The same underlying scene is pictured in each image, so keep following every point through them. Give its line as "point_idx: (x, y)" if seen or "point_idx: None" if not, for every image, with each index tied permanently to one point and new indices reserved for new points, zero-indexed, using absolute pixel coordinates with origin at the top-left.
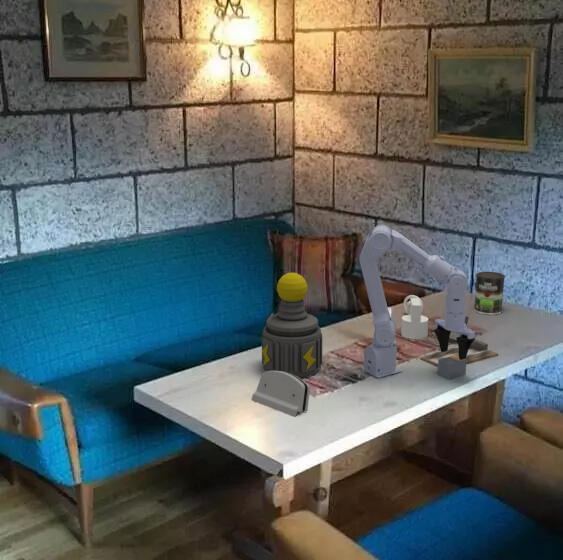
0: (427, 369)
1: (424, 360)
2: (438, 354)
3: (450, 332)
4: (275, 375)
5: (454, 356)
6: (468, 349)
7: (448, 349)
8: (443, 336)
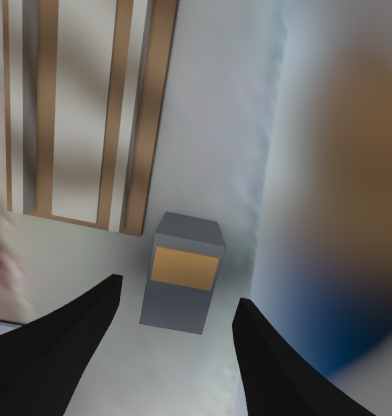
0: (101, 267)
1: (36, 214)
2: (30, 146)
3: (49, 354)
4: None
5: (168, 260)
6: (282, 340)
7: (18, 74)
8: (62, 396)
